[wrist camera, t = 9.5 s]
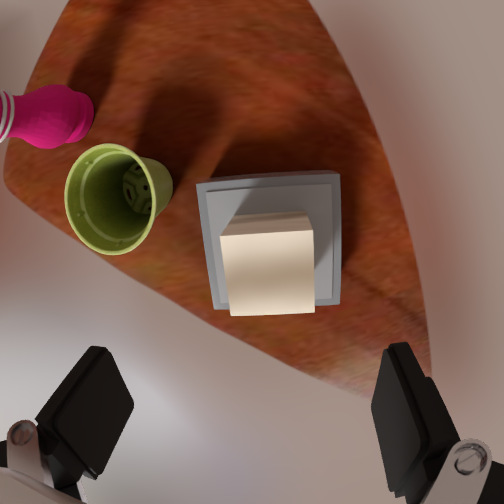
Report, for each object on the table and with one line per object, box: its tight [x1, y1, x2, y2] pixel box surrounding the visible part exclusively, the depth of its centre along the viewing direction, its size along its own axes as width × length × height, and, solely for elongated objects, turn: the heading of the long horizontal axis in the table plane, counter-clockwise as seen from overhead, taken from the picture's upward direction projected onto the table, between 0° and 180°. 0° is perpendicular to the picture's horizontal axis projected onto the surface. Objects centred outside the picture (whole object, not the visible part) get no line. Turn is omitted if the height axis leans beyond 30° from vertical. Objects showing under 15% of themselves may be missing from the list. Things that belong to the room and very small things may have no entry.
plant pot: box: [65, 143, 173, 255], centre depth 26 cm, size 9×9×9 cm
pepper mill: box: [0, 85, 94, 149], centre depth 19 cm, size 7×7×20 cm
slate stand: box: [196, 170, 341, 309], centre depth 28 cm, size 12×12×5 cm
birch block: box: [220, 211, 315, 316], centre depth 23 cm, size 6×6×6 cm
